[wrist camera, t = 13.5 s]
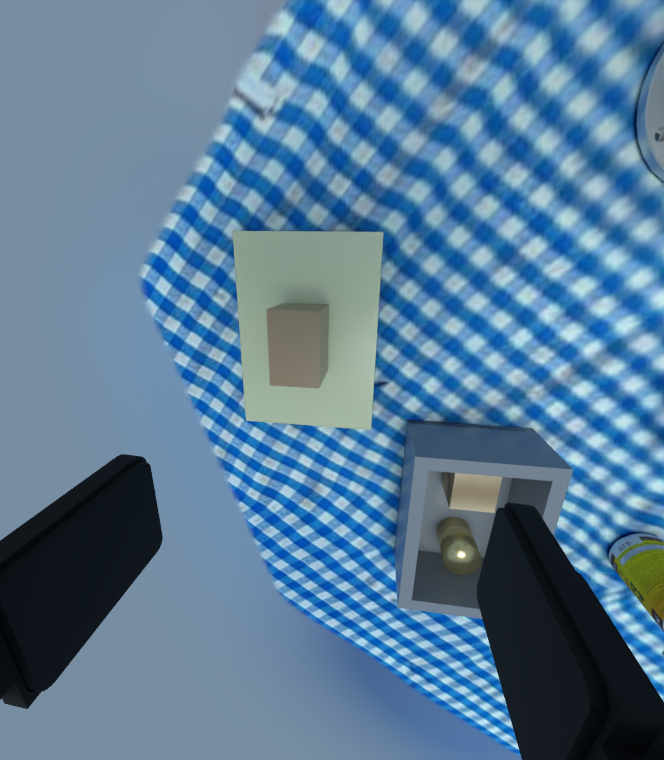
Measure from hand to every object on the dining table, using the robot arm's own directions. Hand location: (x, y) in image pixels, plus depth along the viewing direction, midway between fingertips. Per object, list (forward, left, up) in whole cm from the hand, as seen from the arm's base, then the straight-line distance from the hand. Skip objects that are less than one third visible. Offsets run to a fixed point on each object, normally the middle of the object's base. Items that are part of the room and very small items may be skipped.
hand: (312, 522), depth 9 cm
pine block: (+12, +11, -23) cm, 29 cm away
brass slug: (+20, +11, -23) cm, 33 cm away
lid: (-1, -5, -24) cm, 25 cm away
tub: (+16, +11, -24) cm, 31 cm away
